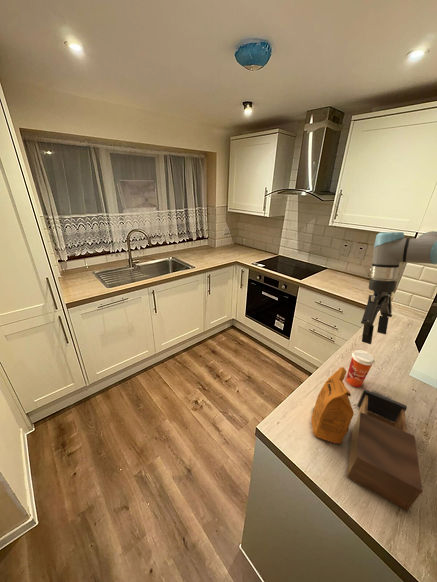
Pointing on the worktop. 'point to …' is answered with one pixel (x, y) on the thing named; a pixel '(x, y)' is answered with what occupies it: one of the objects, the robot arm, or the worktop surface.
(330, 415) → the coffee package
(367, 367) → the paper cup
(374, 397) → the drawer
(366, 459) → the cabinet
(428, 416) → the worktop surface
